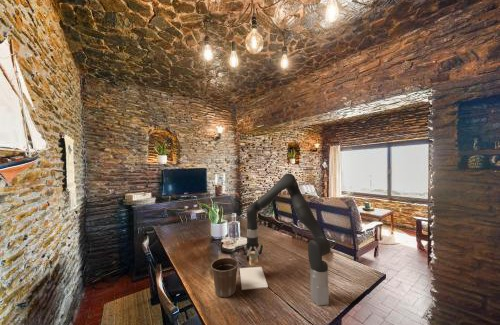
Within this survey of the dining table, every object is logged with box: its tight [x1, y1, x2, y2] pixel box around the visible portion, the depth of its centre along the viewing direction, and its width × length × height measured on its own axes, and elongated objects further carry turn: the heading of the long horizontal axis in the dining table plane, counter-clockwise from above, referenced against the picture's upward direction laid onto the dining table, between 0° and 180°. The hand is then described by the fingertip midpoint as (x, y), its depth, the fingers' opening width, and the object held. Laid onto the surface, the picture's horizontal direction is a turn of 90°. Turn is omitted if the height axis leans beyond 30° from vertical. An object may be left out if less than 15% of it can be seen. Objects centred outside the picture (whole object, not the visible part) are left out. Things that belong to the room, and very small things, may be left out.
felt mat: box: [239, 266, 269, 291], centre depth 130 cm, size 24×16×1 cm, turn 6°
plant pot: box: [210, 257, 239, 298], centre depth 116 cm, size 16×16×16 cm
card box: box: [248, 251, 259, 267], centre depth 131 cm, size 5×9×5 cm, turn 16°
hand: (252, 260), depth 131 cm, fingers closed on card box, 5 cm apart
